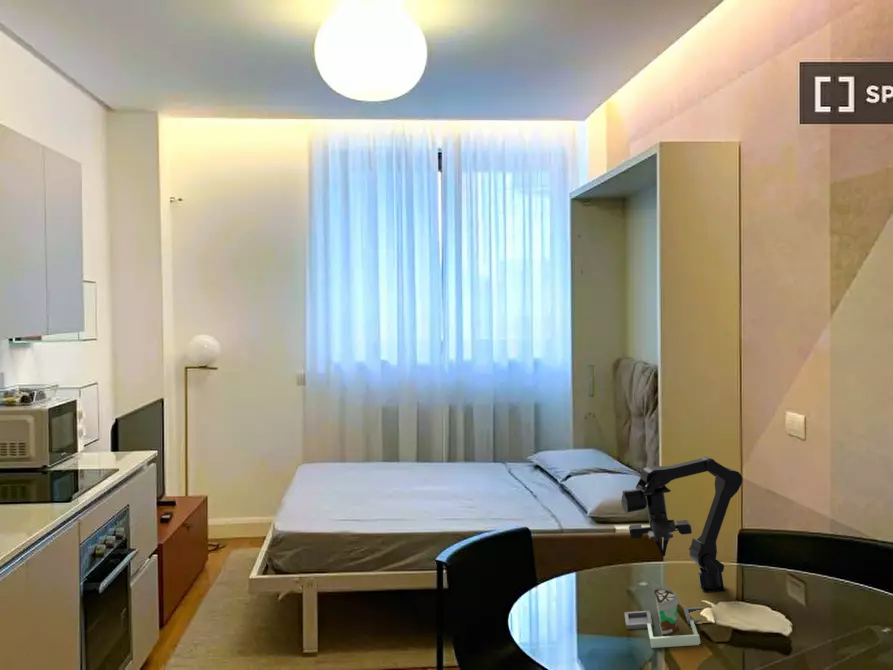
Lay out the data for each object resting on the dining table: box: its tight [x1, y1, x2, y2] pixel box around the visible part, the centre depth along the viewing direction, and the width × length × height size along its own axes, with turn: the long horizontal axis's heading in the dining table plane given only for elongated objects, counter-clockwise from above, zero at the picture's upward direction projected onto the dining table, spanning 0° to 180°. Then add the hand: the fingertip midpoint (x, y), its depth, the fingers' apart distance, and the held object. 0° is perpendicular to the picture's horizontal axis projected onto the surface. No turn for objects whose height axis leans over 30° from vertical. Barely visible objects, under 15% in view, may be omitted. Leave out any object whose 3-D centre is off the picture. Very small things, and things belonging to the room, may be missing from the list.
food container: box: [652, 587, 680, 636], centre depth 215 cm, size 12×6×10 cm, turn 171°
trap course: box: [623, 606, 706, 649], centre depth 215 cm, size 25×22×2 cm
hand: (663, 556), depth 237 cm, fingers closed
